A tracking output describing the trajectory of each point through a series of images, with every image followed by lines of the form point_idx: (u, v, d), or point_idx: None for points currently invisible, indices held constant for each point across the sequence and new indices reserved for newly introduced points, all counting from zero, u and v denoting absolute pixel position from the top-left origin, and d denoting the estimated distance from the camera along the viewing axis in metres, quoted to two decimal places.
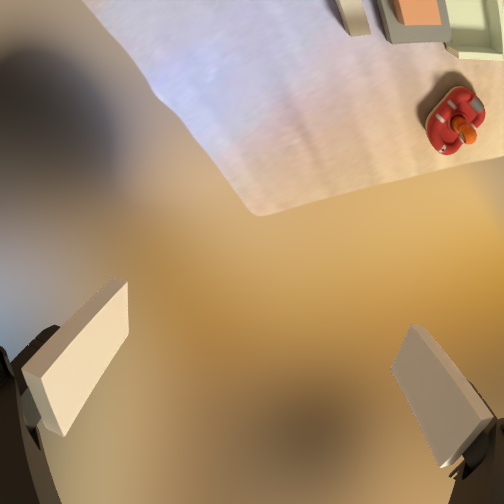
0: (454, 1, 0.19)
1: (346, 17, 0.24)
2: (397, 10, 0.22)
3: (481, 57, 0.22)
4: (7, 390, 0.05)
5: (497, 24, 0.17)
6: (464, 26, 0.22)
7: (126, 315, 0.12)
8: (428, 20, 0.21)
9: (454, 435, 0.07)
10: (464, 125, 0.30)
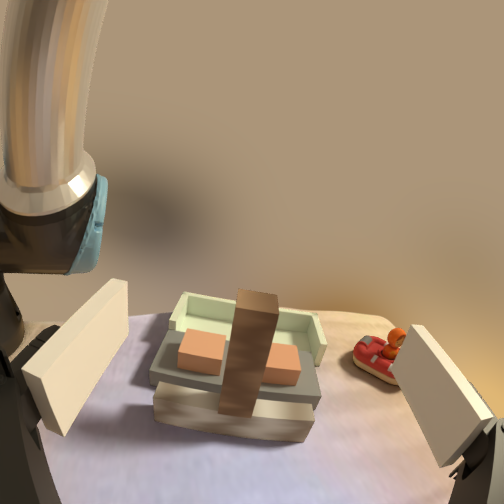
0: None
1: (289, 418, 0.26)
2: (282, 378, 0.32)
3: (320, 329, 0.43)
4: (7, 390, 0.05)
5: (284, 316, 0.47)
6: None
7: (126, 315, 0.12)
8: (293, 353, 0.35)
9: (454, 435, 0.07)
10: (390, 339, 0.39)
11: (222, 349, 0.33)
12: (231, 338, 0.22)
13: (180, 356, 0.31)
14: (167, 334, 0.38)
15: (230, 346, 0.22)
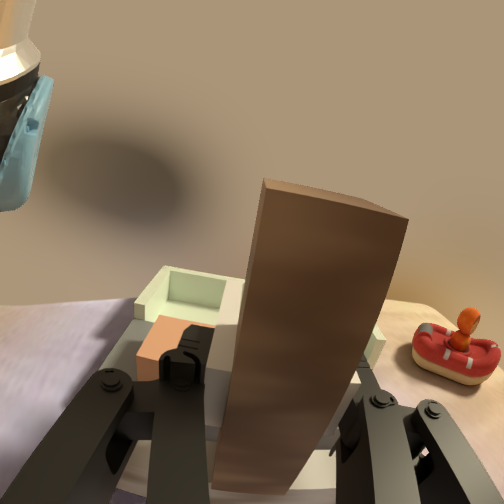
0: None
1: None
2: None
3: None
4: (193, 396, 0.07)
5: None
6: None
7: None
8: None
9: None
10: (465, 324, 0.24)
11: None
12: (247, 313, 0.07)
13: (141, 364, 0.16)
14: (130, 326, 0.22)
15: (243, 341, 0.07)
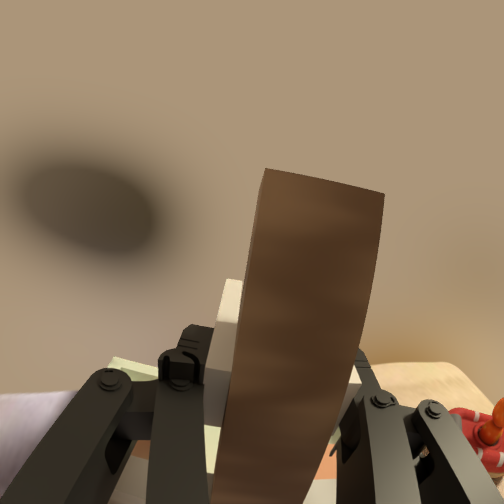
0: None
1: None
2: None
3: None
4: (192, 396, 0.07)
5: None
6: None
7: None
8: None
9: None
10: (503, 420, 0.14)
11: None
12: (250, 281, 0.07)
13: None
14: None
15: (246, 313, 0.07)
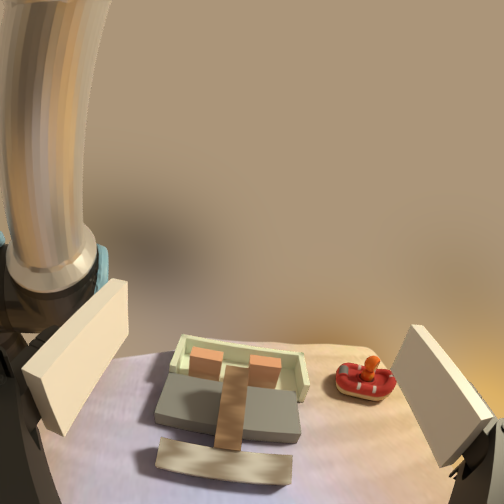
0: None
1: (271, 454, 0.30)
2: (270, 362, 0.45)
3: (305, 370, 0.46)
4: (7, 390, 0.05)
5: (273, 356, 0.50)
6: (279, 384, 0.47)
7: (126, 315, 0.12)
8: None
9: (454, 435, 0.07)
10: (369, 367, 0.46)
11: None
12: (224, 382, 0.36)
13: (194, 349, 0.45)
14: (168, 377, 0.41)
15: (223, 387, 0.36)
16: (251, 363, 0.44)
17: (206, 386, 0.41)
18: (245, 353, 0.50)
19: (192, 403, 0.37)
